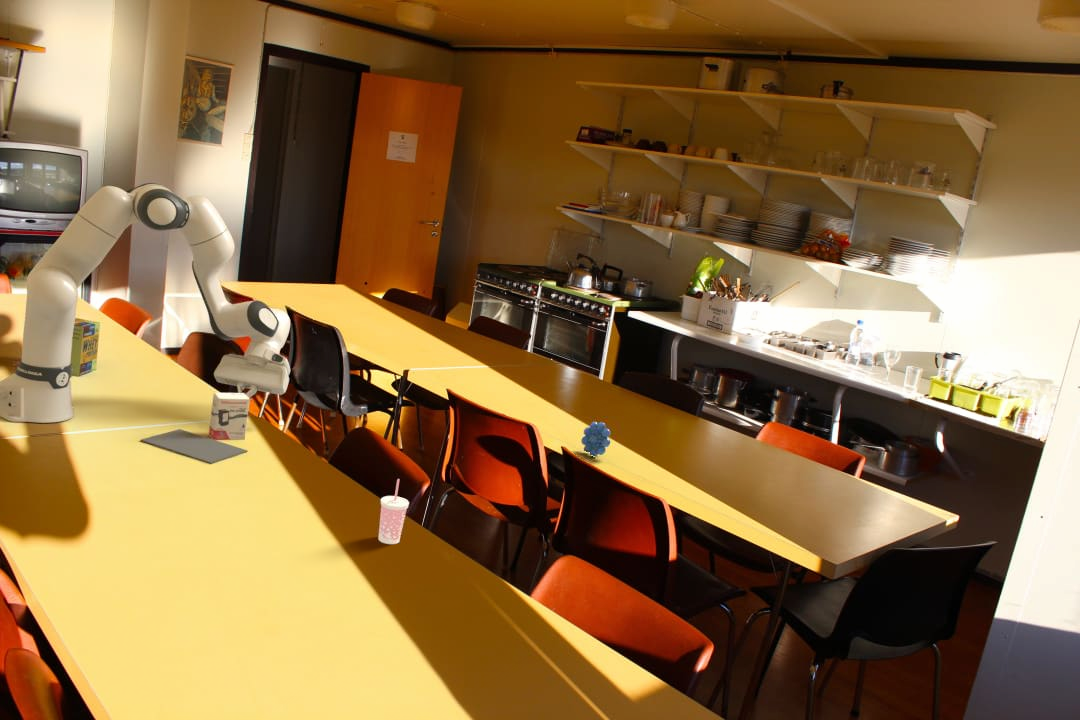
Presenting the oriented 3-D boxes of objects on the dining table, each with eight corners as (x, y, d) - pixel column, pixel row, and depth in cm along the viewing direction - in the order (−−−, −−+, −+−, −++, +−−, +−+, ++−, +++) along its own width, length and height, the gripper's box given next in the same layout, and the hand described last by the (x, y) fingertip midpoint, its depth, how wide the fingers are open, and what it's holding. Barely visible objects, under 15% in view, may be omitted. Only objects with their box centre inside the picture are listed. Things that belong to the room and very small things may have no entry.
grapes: (614, 462, 284) (622, 426, 282) (600, 463, 280) (607, 427, 277) (589, 450, 293) (596, 415, 290) (574, 451, 288) (581, 415, 286)
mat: (140, 441, 226) (140, 439, 226) (179, 430, 240) (179, 429, 239) (210, 464, 220) (210, 462, 220) (247, 451, 233) (247, 450, 233)
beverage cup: (390, 548, 191) (399, 486, 188) (368, 538, 194) (378, 477, 191) (408, 541, 196) (418, 481, 194) (387, 531, 199) (397, 472, 197)
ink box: (212, 440, 237) (217, 397, 235) (208, 434, 241) (213, 392, 239) (245, 439, 242) (250, 398, 240) (240, 434, 246) (245, 392, 244)
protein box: (79, 377, 270) (84, 327, 268) (29, 368, 270) (32, 317, 267) (97, 370, 281) (101, 322, 278) (48, 361, 280) (52, 313, 278)
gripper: (222, 346, 253) (203, 386, 245) (292, 360, 252) (274, 400, 244) (227, 358, 258) (208, 398, 250) (295, 372, 257) (278, 412, 249)
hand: (241, 399), depth 247 cm, fingers closed
